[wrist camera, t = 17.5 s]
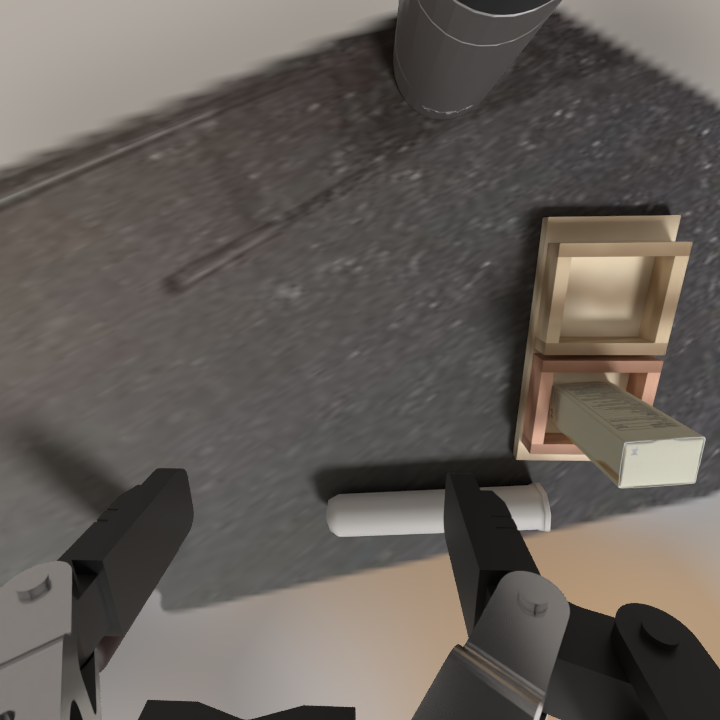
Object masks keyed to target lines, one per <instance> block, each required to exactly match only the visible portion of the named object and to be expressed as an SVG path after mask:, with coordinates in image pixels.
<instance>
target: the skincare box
mask: <svg viewBox="0 0 720 720" xmlns="http://www.w3.org/2000/svg"><path fill="white" fill-rule="evenodd" d="M549 419H550V421H551V422H552V423H553V424H554V425H555V426H556V427H557V428H558V429H559V430H560V431H561V432H562V433H563V434H564V435H566V436H567V437H568V438H569V439H570V440H571V441H572V442H573V443H574V444H575V445H576V446H577V447H578V448H579V449H580V450H581V451H582V452H583V453H584V454H585V455H586V456H587V457H588V458H589V459H590V460H591V461H592V462H593V463H594V464H595V465H596V466H597V467H598V468H599V469H600V470H601V471H602V472H603V473H604V474H605V475H606V476H607V477H608V478H609V479H610V480H612V481H613V482H614V483H615V484H616V485H617V486H618V487H619V488H643V487H657V486H669V485H682V484H692V483H695V482H696V477H697V473H698V469H699V465H700V461H701V457H702V453H703V449H704V444H705V440H706V439H705V437H704V436H702V435H700V434H699V433H697V432H695V431H693V430H692V429H690V428H688V427H687V426H685V425H683V424H681V423H680V422H678V421H676V420H675V419H673V418H671V417H669V416H668V415H666V414H664V413H663V412H661V411H659V410H658V409H656V408H654V407H652V406H651V405H649V404H647V403H646V402H644V401H642V400H640V399H639V398H637V397H635V396H634V395H632V394H630V393H628V392H627V391H625V390H623V389H622V388H620V387H618V386H616V385H615V384H613V383H611V382H610V381H593V382H579V383H568V384H558V385H552V389H551V399H550V416H549Z"/></svg>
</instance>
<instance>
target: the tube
mask: <svg viewBox="0 0 720 720" xmlns="http://www.w3.org/2000/svg"><path fill="white" fill-rule="evenodd" d="M480 490H492V491H493V492H494V493H495V494H497V495H498V496H499V497H500V498H501V499H502V500H503V501H504V502H505V503H506V505H507V507H508V509H509V511H510V513H511V515H512V519H514V521H515V524H516V526H517V529H518V530H531V529H538V530H541V531H550V524H551V512H550V507H549V502H548V497H547V494H546V492H545V491H544V489H543V488H542V486H541V485H540V483H532V484H529V485H524V486H503V487H481V488H480ZM444 500H445V489H439V490H417V491H396V492H374V493H353V494H338V495H336V496H334V497H333V498H331V499H329V500H328V504H327V510H326V520H327V523H328V525H329V528H330V531H332V532H333V533H334V534H336V535H337V536H339V537H346V536H372V535H399V534H425V533H444V520H443V516H444Z"/></svg>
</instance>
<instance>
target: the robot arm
mask: <svg viewBox="0 0 720 720" xmlns="http://www.w3.org/2000/svg"><path fill="white" fill-rule="evenodd" d="M561 1H562V0H399V7H398V16H397V25H396V33H395V43H394V52H393V68H394V75H395V80H396V82H397V85H398V88H399V91H400V92H401V94H402V96H403V97H404V99H405V101H406V102H407V103H408V104H409V105H410V106H411V107H412V108H413V109H414V110H416V111H417V112H419V113H420V114H422V115H424V116H427V117H430V118H433V119H443V120H444V119H451V118H456V117H458V116H461V115H463V114H466V113H467V112H469V111H470V110H472V109H473V108H475V107H476V106H477V105H478V104H479V103H480V102H481V101H482V100H483V99H484V98H485V96H486V95H487V94H488V93H489V91H490V90H491V89H492V88H493V86H494V85H495V84H496V83H497V82H498V80H499V79H500V78H501V77H502V75H503V74H504V73H505V71H506V70H507V69H508V68H509V66H510V65H511V64H512V63H513V61H514V60H515V59H516V58H517V56H518V55H519V54H520V53H521V51H522V50H523V49H524V48H525V46H526V45H527V44H528V43H529V41H530V40H531V39H532V37H533V36H534V35H535V34H536V32H537V31H538V30H539V29H540V27H541V26H542V25H543V24H544V22H545V21H546V20H547V19H548V17H549V16H550V15H551V14H552V12H553V11H554V10H555V9H556V7H557V6H558V5H559V3H560V2H561ZM193 516H194V511H193V504H192V499H191V493H190V487H189V481H188V476H187V472H186V471H185V470H184V469H173V468H158V469H156V470H155V471H154V472H153V473H152V474H151V475H150V476H149V477H148V478H147V479H146V480H145V481H144V483H143V484H142V485H137V486H135V487H134V488H132V489H131V490H129V491H127V492H126V493H124V494H123V495H121V496H120V497H119V498H118V499H117V500H116V501H115V502H114V503H113V504H112V505H111V506H110V507H109V508H108V511H105V512H104V513H103V514H102V515H101V516H100V517H99V518H98V519H97V522H94V523H93V524H92V525H91V526H90V527H89V528H88V529H87V530H86V532H85V533H84V534H83V535H82V536H81V537H80V538H79V539H78V540H77V541H76V542H75V543H74V544H73V545H72V546H71V547H70V548H69V549H68V550H67V551H66V552H65V553H64V554H63V555H62V556H61V557H60V558H59V559H58V560H57V561H52V562H46V563H42V564H39V565H36V566H34V567H31V568H29V569H27V570H25V571H23V572H22V573H20V574H18V575H17V576H15V577H14V578H12V579H11V580H10V581H8V582H7V583H6V584H5V585H4V586H3V587H2V588H1V589H0V720H102V715H101V697H100V676H99V657H98V652H97V648H96V647H97V645H98V644H99V642H100V641H101V639H102V638H103V636H124V635H125V633H126V632H127V630H128V629H129V627H130V625H131V624H132V622H133V621H134V619H135V617H136V616H137V614H138V613H139V611H140V609H141V608H142V606H143V605H144V603H145V601H146V600H147V598H148V597H149V595H150V593H151V592H152V590H153V589H154V587H155V586H156V584H157V582H158V581H159V579H160V578H161V576H162V574H163V573H164V571H165V570H166V568H167V566H168V565H169V563H170V562H171V560H172V558H173V557H174V555H175V554H176V552H177V550H178V549H179V547H180V546H181V544H182V542H183V541H184V539H185V538H186V536H187V534H188V533H189V531H190V529H191V526H192V522H193ZM443 520H444V533H445V539H446V543H447V547H448V551H449V556H450V560H451V564H452V569H453V573H454V577H455V581H456V586H457V590H458V594H459V599H460V603H461V607H462V612H463V616H464V620H465V624H466V629H467V633H468V637H469V639H468V641H467V642H466V644H465V645H464V646H463V647H462V646H461V645H459V644H458V645H456V646H455V647H454V648H453V649H452V651H451V652H450V654H449V655H448V657H447V659H446V660H445V662H444V664H443V666H442V667H441V669H440V671H439V673H438V674H437V676H436V678H435V679H434V681H433V683H432V685H431V687H430V688H429V690H428V692H427V693H426V695H425V697H424V699H423V701H422V702H421V704H420V706H419V707H418V709H417V711H416V713H415V714H414V716H413V718H412V720H547V717H548V715H551V716H553V717H556V718H558V719H561V720H720V669H719V667H718V666H717V665H716V663H715V662H714V661H713V659H712V658H711V657H710V655H709V654H708V653H707V651H706V650H705V648H704V647H703V646H702V644H701V643H700V642H699V640H698V639H697V638H696V637H695V635H694V634H693V633H692V632H691V631H690V630H689V629H688V628H687V627H686V626H684V625H683V624H682V623H681V622H680V621H678V620H677V619H676V618H674V617H673V616H671V615H669V614H667V613H666V612H664V611H662V610H660V609H657V608H655V607H652V606H649V605H645V604H639V603H630V604H626V605H623V606H621V607H620V608H619V609H618V611H617V613H616V617H615V618H614V617H611V616H608V615H604V614H601V613H598V612H594V611H591V610H588V609H584V608H581V607H579V606H576V605H574V604H572V603H570V602H568V601H567V600H566V597H565V596H564V594H563V593H562V592H561V591H560V590H559V588H558V587H557V586H555V585H554V584H553V583H552V582H550V581H549V580H547V579H546V578H544V577H542V576H541V575H540V573H539V571H538V569H537V567H536V565H535V562H534V561H533V559H532V556H531V554H530V552H529V551H528V548H527V546H526V544H525V542H524V540H523V538H522V536H521V534H520V532H519V531H518V529H517V526H516V524H515V521H514V519H512V515H511V513H510V511H509V509H508V507H507V505H506V503H505V502H504V501H503V500H502V499H501V498H500V497H499V496H498V495H497V494H495V493H494V492H493V491H492V490H480V488H479V486H478V483H477V481H476V478H475V476H474V474H473V473H454V472H448V473H447V475H446V485H445V500H444V516H443ZM355 716H356V714H355V707H333V706H305V705H304V706H300V707H296V708H292V709H289V710H285V711H281V712H277V713H273V714H270V715H266V716H262V717H259V718H255V719H251V720H356V717H355ZM138 720H243V719H240V718H238V717H235V716H233V715H230V714H228V713H225V712H223V711H220V710H217V709H215V708H212V707H210V706H207V705H205V704H202V703H200V702H192V701H189V702H188V701H164V700H163V701H161V700H147V702H146V704H145V707H144V709H143V711H142V713H141V715H140V717H139V719H138Z"/></svg>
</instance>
